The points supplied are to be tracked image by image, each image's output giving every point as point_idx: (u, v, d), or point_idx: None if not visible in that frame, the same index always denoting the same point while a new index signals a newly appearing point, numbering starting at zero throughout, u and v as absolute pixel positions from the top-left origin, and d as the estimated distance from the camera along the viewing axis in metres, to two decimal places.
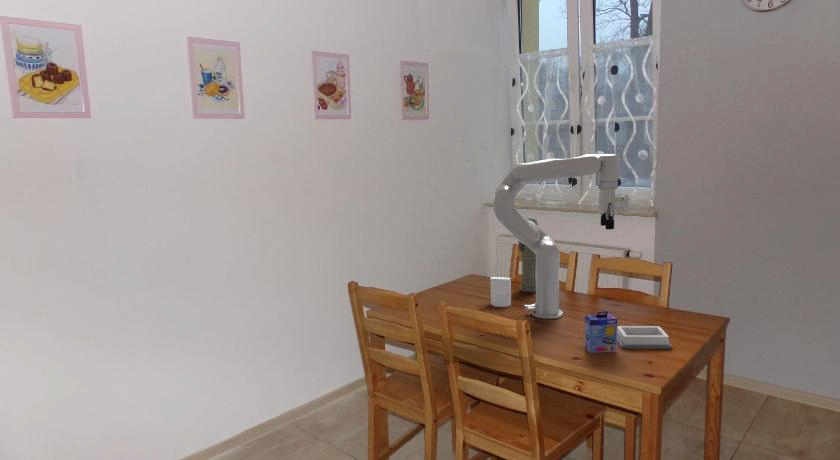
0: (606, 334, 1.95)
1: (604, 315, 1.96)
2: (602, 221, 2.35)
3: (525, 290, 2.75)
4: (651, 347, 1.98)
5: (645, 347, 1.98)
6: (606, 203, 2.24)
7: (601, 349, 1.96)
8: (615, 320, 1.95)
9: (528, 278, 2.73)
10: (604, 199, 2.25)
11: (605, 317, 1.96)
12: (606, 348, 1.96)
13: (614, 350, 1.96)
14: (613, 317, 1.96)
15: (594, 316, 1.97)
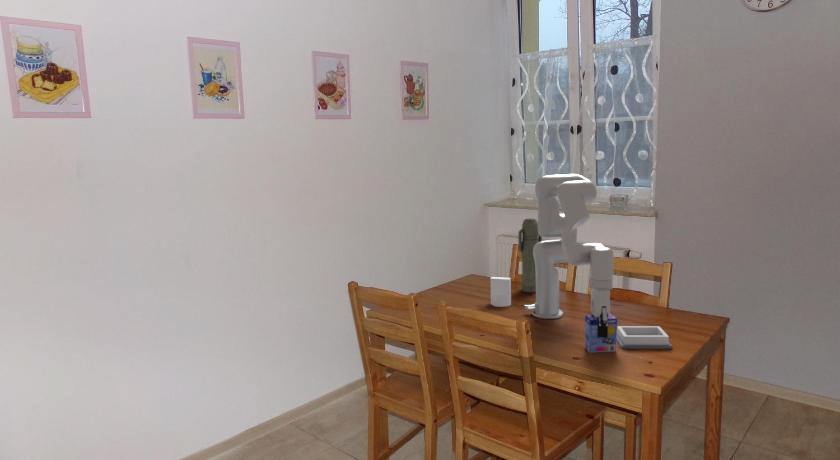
0: None
1: None
2: None
3: (525, 290, 2.75)
4: (651, 347, 1.98)
5: (645, 347, 1.98)
6: (599, 306, 1.91)
7: (601, 349, 1.96)
8: (615, 320, 1.95)
9: (528, 278, 2.73)
10: (597, 301, 1.91)
11: None
12: (606, 348, 1.96)
13: (614, 350, 1.96)
14: (613, 317, 1.96)
15: None
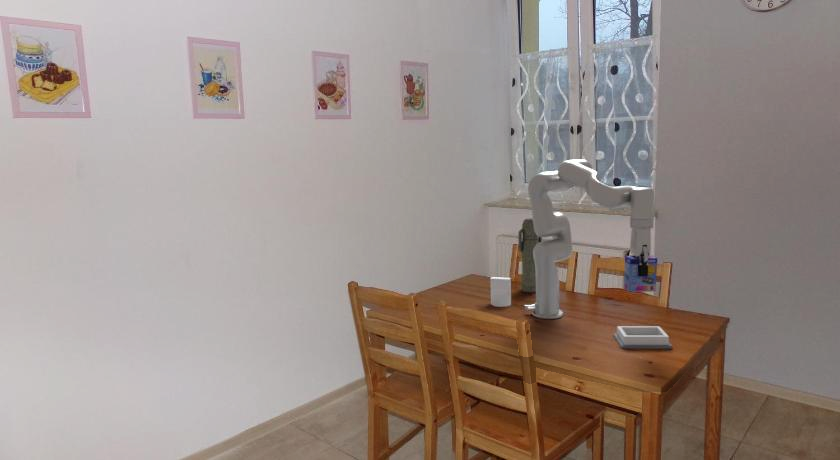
0: None
1: None
2: None
3: (525, 290, 2.75)
4: (651, 347, 1.98)
5: (645, 347, 1.98)
6: (640, 245, 1.94)
7: (641, 288, 1.98)
8: (655, 259, 1.97)
9: (528, 278, 2.73)
10: (638, 240, 1.94)
11: None
12: (646, 287, 1.98)
13: (654, 290, 1.99)
14: (653, 257, 1.98)
15: (634, 256, 1.99)
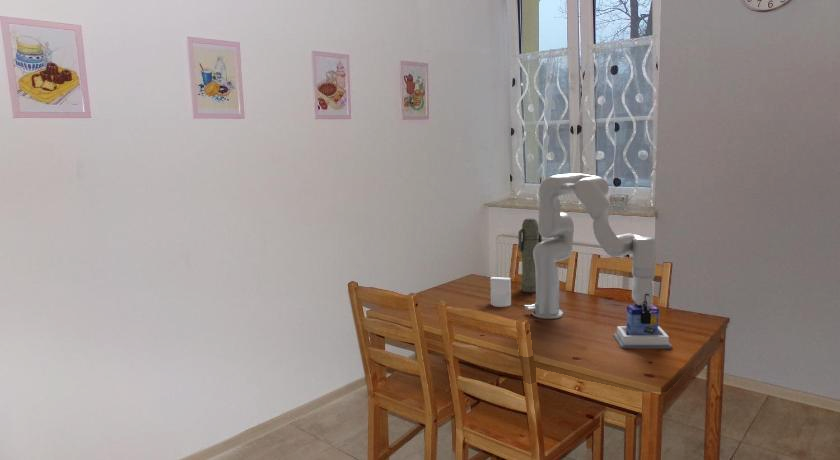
0: None
1: None
2: None
3: (525, 290, 2.75)
4: (651, 347, 1.98)
5: (645, 347, 1.98)
6: (642, 294, 1.97)
7: None
8: (656, 310, 2.00)
9: (528, 278, 2.73)
10: (640, 289, 1.97)
11: None
12: None
13: None
14: (654, 307, 2.01)
15: (636, 306, 2.03)
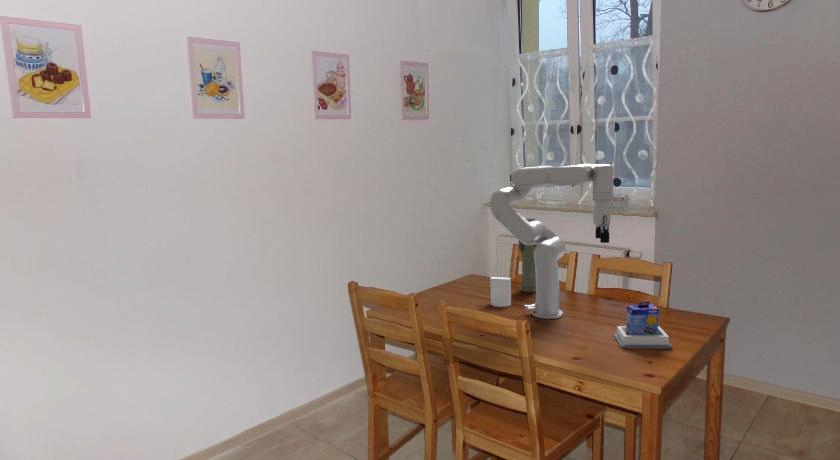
0: (647, 323, 2.01)
1: (646, 305, 2.02)
2: (597, 234, 2.26)
3: (525, 290, 2.75)
4: (651, 347, 1.98)
5: (645, 347, 1.98)
6: (601, 215, 2.16)
7: None
8: (656, 310, 2.00)
9: (528, 278, 2.73)
10: (599, 211, 2.16)
11: (647, 307, 2.01)
12: None
13: None
14: (654, 307, 2.01)
15: (636, 306, 2.03)
